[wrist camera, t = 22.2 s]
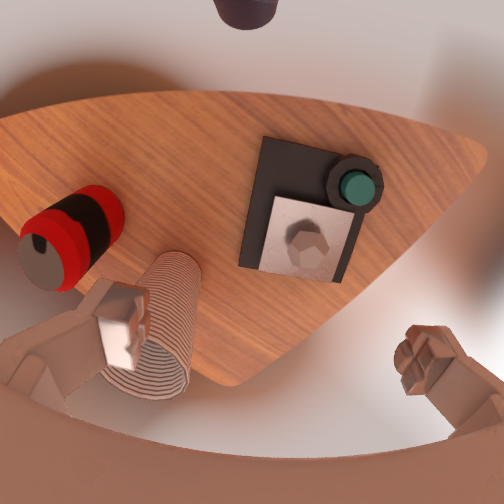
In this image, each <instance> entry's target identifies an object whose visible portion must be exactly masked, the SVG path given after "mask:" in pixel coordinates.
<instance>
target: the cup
mask: <svg viewBox="0 0 504 504" xmlns="http://www.w3.org/2000/svg"><path fill="white" fill-rule="evenodd" d="M200 285H201V270H200V268H199V266H198V264H197V262H196V261H195V260H194V259H193V258H192V257H190V256H189V255H187V254H185V253H182V252H180V251H169V252H166V253H163V254H161V255H160V256H159V257H158V258H157V259H156V260H155V261H154V262H153V264H152V265H151V266H150V267H149V268H148V270H147V271H146V272H145V273H144V275H143V276H142V277H141V278H140V279H139V281H138V282H137V283H136V284H135V286H139V287H143V288H148V289H149V291H150V302H149V304H148V307H147V309H148V310H149V312H150V313H151V322H150V330H149V334H148V338H147V341H146V343H145V344H144V345H142V346H140V348H141V356H140V359H139V361H138V364H137V367H136V369H135V372H134V371H129V370H125V369H121V368H116V367H112V366H108V365H107V367H106V368H104V369H103V370H102V371H100V372H99V373H100V374H101V375H102V376H103V378H105V380H106V381H107V382H109V383H110V384H111V385H113V386H114V387H116V388H118V389H119V390H120V391H122V392H124V393H127V394H129V395H132V396H134V397H137V398H139V399H145V400H152V401H161V400H171V399H173V398H175V397H177V396H179V395H181V394H182V393H184V391H185V389H186V387H187V385H188V383H189V377H190V368H191V358H192V349H193V340H194V332H195V324H196V316H197V308H198V300H199V293H200Z"/></svg>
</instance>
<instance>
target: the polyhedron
mask: <svg viewBox="0 0 504 504" xmlns="http://www.w3.org/2000/svg"><path fill="white" fill-rule="evenodd" d="M329 250H330V248H329V246H328V244H327V241H326V239H325V237H324V235H322V234H318V233H315V232H306V231H299V232H298V234H297V235H296V236H295V238H294V239H293V240H292V242H291V243H290V245H289V248H288V250H287V253H288V255H289V257H290V260H291V262H292V264H293V266H299V267H305V268H312V269H317V268H318V266H319V265H320V263H321V262H322V261H323V259H324V258H325V256H326V255H327V253H328V252H329Z"/></svg>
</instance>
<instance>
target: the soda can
mask: <svg viewBox="0 0 504 504" xmlns="http://www.w3.org/2000/svg"><path fill="white" fill-rule="evenodd" d="M123 226H124V216H123V211H122V208H121V205H120V203H119V201H118V200H117V199H116V197H115V196H114V195H113V194H112V193H111V192H110V191H109V190H107V189H106V188H103V187H101V186H96V185H89V186H86V187H84V188H82V189H80V190H78V191H76V192H74V193H73V194H71V195H69V196H67V197H66V198H64V199H62V200H60V201H59V202H57V203H55V204H54V205H52V206H50V207H48V208H47V209H45V210H44V211H42V212H40V213H39V214H37V215H36V216H34V217H32V218H31V219H29V220H28V221H27V222H26V223H25V224H24V226H23V228H22V230H21V234H20V240H19V245H18V257H19V261H20V265H21V267H22V269H23V271H24V273H25V274H26V276H27V277H28V278H29V280H30V281H31V282H32V283H34V284H35V285H36V286H37V287H39V288H41V289H43V290H46V291H59V292H62V291H68V290H70V289H72V288H73V287H74V286H75V285H76V284H77V283H78V282H79V280H80V279H81V278H82V277H83V276H84V275H85V274H86V272H87V271H88V270H89V269H90V268H91V267H92V266H93V265H94V263H95V262H96V261H97V260H98V259H99V258H100V257H101V256H102V255H103V254H104V253H105V252H106V250H107V249H108V248H109V247H110V246H111V245H112V244H113V243H114V242H115V241H116V240H117V239H118V237H119V236H120V234H121V232H122V229H123Z"/></svg>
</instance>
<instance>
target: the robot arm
mask: <svg viewBox="0 0 504 504" xmlns="http://www.w3.org/2000/svg"><path fill="white" fill-rule="evenodd" d="M149 302H150V291H149V289H148V288H143V287H139V286H134V285H130V284H126V283H122V282H117V281H112V280H108V279H104V278H100V279H98V280H97V281H96V282H95V283H94V285H93V286H92V287H91V289H90V290H89V291H88V293H87V294H86V296H85V297H84V298H83V300H82V301H81V302H80V304H79V305H78V307H77V308H76V309H75V311H73V310H68V311H66V312H64V313H62V314H59V315H57V316H55V317H53V318H50V319H48V320H46V321H44V322H41V323H39V324H37V325H35V326H33V327H30V328H28V329H26V330H24V331H22V332H19V333H17V334H15V335H13V336H11V337H8V338H6V339H4V340H3V341H2V343H1V344H0V504H504V382H503V381H501V380H500V379H499V378H498V377H496V376H495V375H494V374H493V373H491V372H490V371H489V370H487V369H486V368H485V367H483V366H482V365H481V364H479V363H478V362H477V361H475V360H474V359H473V358H472V357H468V356H467V355H466V353H465V352H464V350H463V348H462V347H461V345H460V344H459V342H458V341H457V339H456V338H455V336H454V335H453V333H452V331H451V330H450V328H448V327H447V326H424V325H412V326H411V327H410V328H409V329H408V330H407V332H406V334H405V335H406V339H405V340H404V341H403V342H401V343H400V344H399V345H398V347H397V349H396V351H395V355H394V365H395V368H396V370H397V371H398V372H399V373H400V374H401V375H402V378H401V383H402V385H403V388H404V390H405V393H406V395H424V394H426V395H425V396H426V397H427V398H428V399H429V400H430V401H431V403H432V404H433V405H434V406H435V407H436V408H437V409H438V410H439V411H440V413H441V414H442V415H443V416H444V417H445V418H446V419H447V420H448V421H449V423H450V424H451V425H452V426H453V427H454V428H455V429H456V430H455V431H454V432H453V433H452V434H451V435H450V436H449V437H448V439H447V440H443V441H439V442H435V443H431V444H426V445H421V446H417V447H412V448H407V449H400V450H394V451H388V452H381V453H373V454H365V455H354V456H342V457H326V458H269V457H252V456H239V455H230V454H221V453H213V452H206V451H199V450H193V449H187V448H182V447H176V446H171V445H166V444H162V443H157V442H153V441H149V440H144V439H140V438H137V437H133V436H129V435H126V434H122V433H118V432H115V431H112V430H109V429H105V428H102V427H99V426H96V425H94V424H90V423H87V422H85V421H82V420H79V419H77V418H74V417H73V416H72V413H71V411H70V410H69V408H68V406H67V404H66V402H65V401H64V398H66V397H67V396H68V395H70V394H71V393H72V392H74V391H75V390H76V389H78V388H79V387H80V386H81V385H83V384H84V383H86V382H87V381H88V380H89V379H91V378H92V377H94V376H95V375H96V374H97V373H99V372H100V371H102V370H103V369H104V368H106V367H107V365H108V366H112V367H116V368H121V369H125V370H129V371H134V372H135V369H136V367H137V364H138V361H139V359H140V356H141V348H140V346H142V345H144V344H145V343H146V341H147V338H148V334H149V330H150V322H151V313H150V312H149V310H148V309H147V307H148V304H149Z"/></svg>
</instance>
